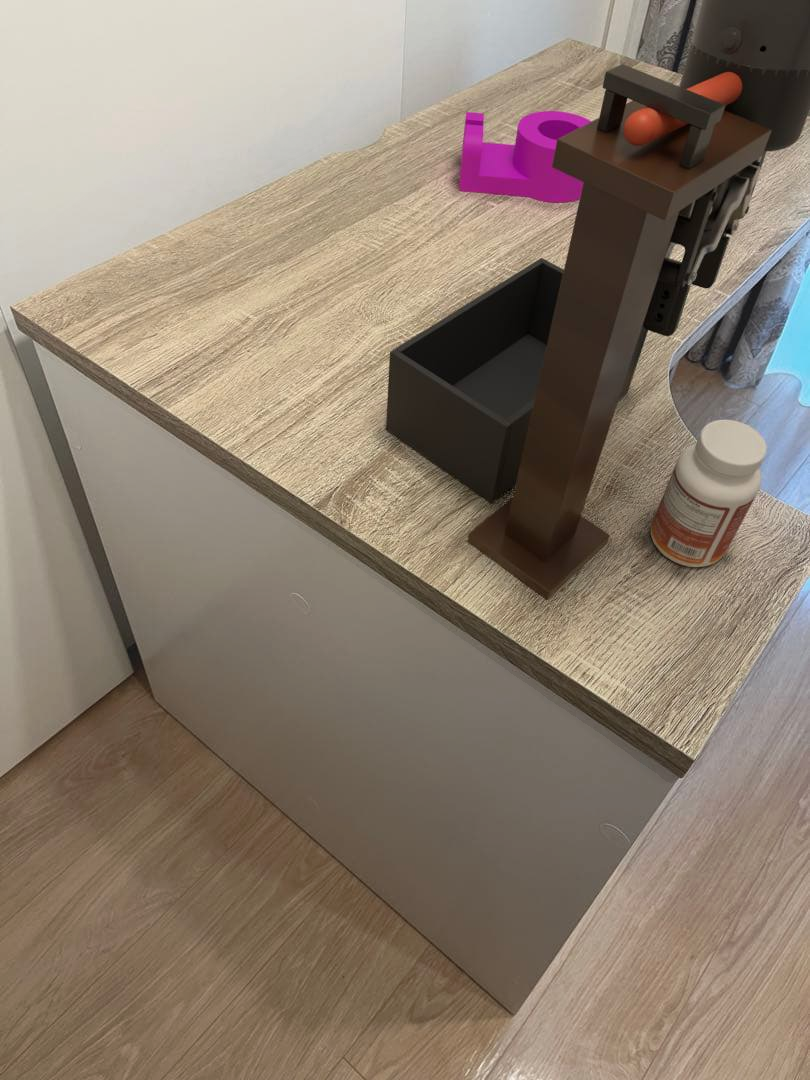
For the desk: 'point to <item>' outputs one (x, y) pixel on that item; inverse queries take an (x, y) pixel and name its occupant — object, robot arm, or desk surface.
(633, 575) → the desk surface
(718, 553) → the pill bottle
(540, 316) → the bin
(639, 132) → the orange red rod
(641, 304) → the brown pedestal stand
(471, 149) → the tape dispenser
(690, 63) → the robot arm
